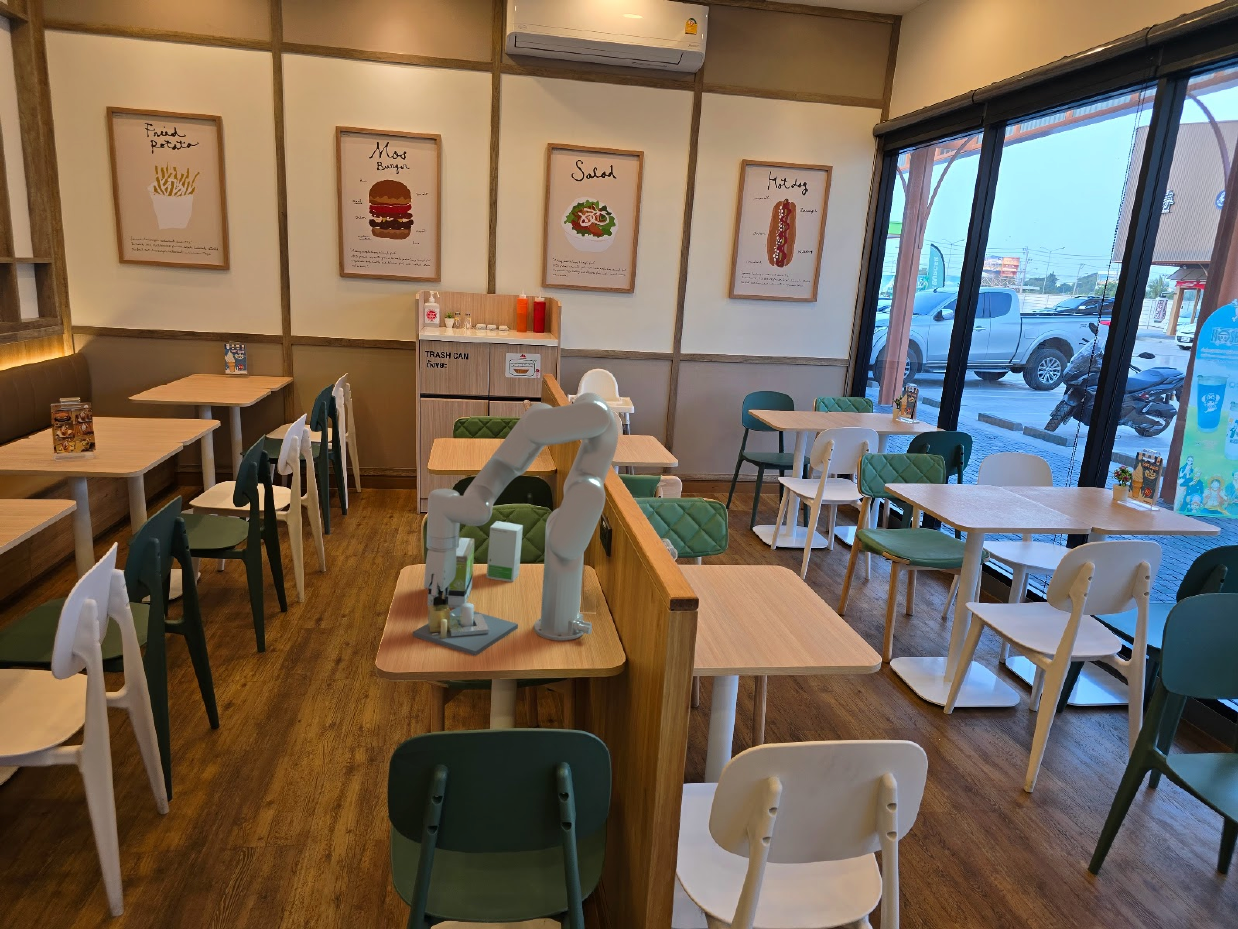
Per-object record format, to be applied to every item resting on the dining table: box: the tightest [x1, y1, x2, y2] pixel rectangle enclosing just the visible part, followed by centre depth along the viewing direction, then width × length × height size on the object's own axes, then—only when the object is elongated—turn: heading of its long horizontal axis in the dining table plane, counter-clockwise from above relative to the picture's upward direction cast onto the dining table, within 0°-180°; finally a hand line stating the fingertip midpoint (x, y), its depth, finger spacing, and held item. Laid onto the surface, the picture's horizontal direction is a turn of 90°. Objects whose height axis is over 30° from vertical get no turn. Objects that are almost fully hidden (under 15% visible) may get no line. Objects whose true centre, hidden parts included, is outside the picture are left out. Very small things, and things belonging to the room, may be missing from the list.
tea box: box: [427, 537, 475, 609], centre depth 217 cm, size 15×10×15 cm, turn 3°
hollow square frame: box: [427, 604, 489, 636], centre depth 197 cm, size 14×9×6 cm, turn 111°
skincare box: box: [486, 520, 524, 583], centre depth 234 cm, size 8×7×16 cm
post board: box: [412, 602, 519, 657], centre depth 198 cm, size 18×18×7 cm
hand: (440, 611), depth 200 cm, fingers closed
